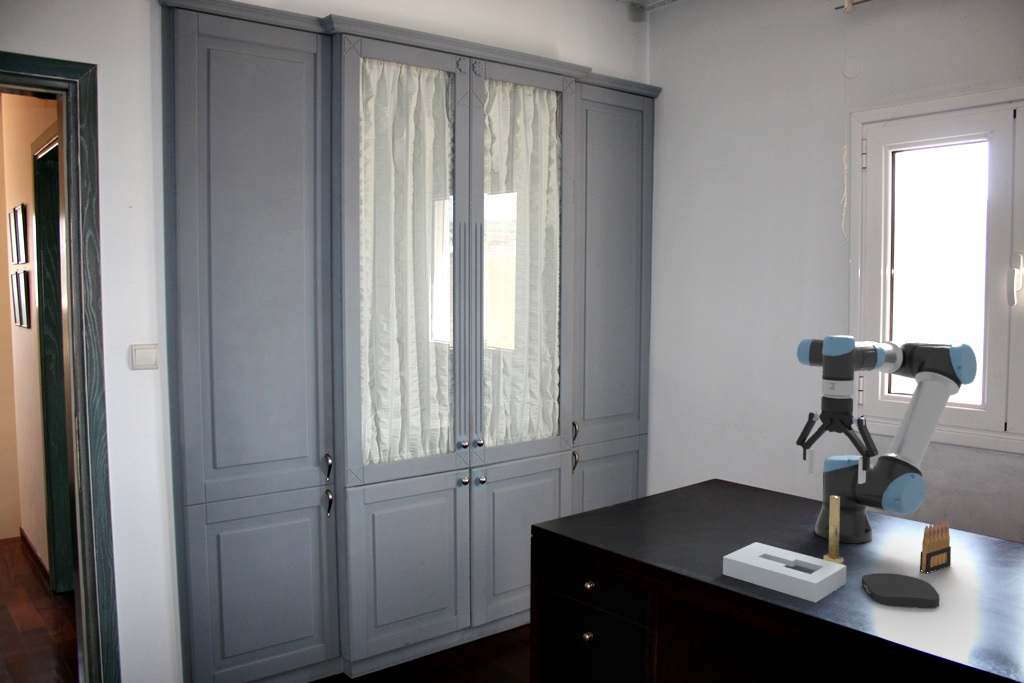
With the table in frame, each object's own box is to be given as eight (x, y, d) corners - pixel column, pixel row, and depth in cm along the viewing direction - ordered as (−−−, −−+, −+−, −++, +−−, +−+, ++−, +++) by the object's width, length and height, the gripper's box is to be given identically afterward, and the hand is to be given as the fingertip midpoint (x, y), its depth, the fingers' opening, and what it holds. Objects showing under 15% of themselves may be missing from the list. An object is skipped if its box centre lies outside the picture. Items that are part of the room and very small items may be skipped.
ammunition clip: (926, 573, 192) (928, 527, 191) (919, 571, 194) (921, 525, 193) (950, 565, 197) (952, 520, 197) (943, 563, 199) (945, 518, 198)
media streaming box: (944, 611, 171) (945, 598, 171) (874, 606, 173) (875, 593, 173) (921, 586, 185) (922, 573, 185) (857, 582, 188) (857, 570, 187)
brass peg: (839, 561, 201) (840, 494, 199) (846, 568, 196) (848, 499, 195) (820, 561, 201) (822, 494, 200) (827, 568, 196) (829, 499, 195)
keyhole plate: (845, 583, 186) (846, 565, 185) (815, 602, 175) (816, 583, 174) (755, 558, 203) (755, 542, 203) (722, 574, 192) (723, 556, 192)
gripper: (784, 392, 202) (782, 471, 203) (882, 402, 184) (879, 489, 185) (797, 390, 207) (795, 467, 208) (894, 399, 189) (891, 484, 190)
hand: (834, 478), depth 197 cm, fingers open, 13 cm apart
